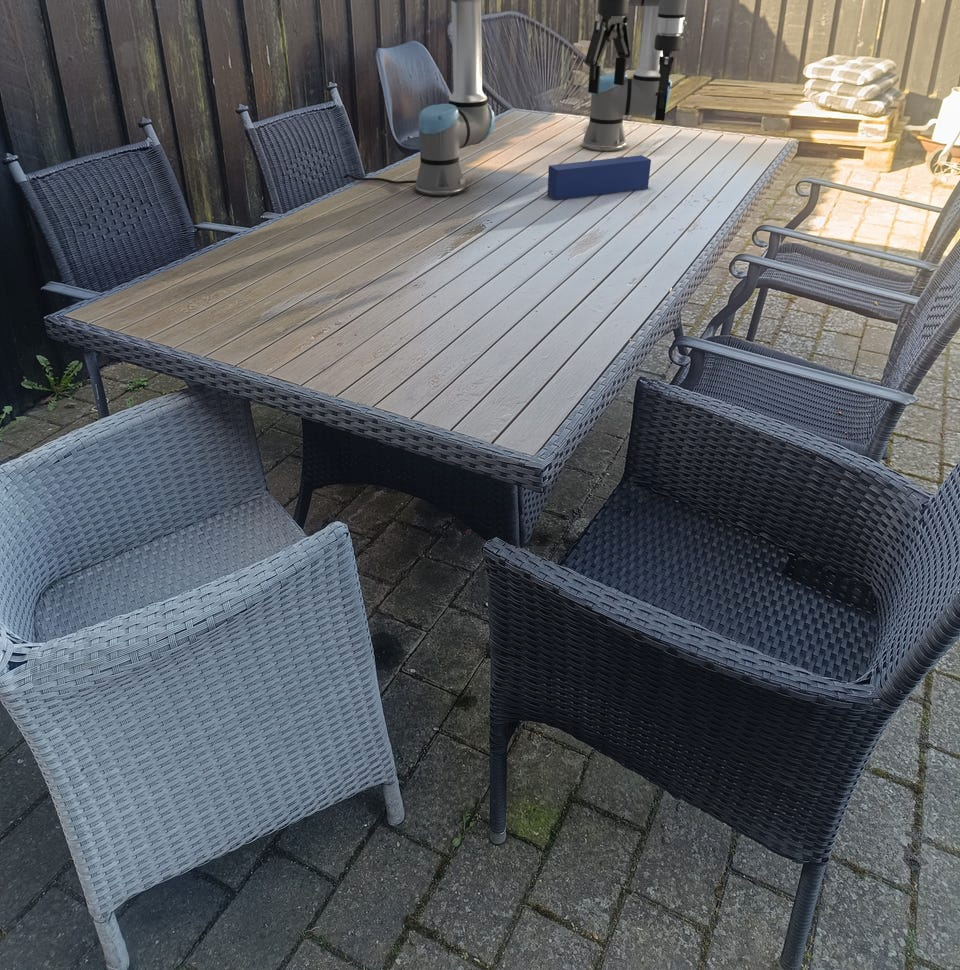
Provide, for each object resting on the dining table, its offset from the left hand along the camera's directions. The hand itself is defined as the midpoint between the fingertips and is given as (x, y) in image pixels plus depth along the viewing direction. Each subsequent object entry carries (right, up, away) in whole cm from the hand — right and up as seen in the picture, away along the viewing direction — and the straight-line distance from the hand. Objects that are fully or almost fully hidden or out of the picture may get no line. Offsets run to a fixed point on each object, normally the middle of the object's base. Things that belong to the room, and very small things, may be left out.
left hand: (606, 88), depth 224 cm
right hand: (+20, +4, +25) cm, 32 cm away
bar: (+3, -16, +33) cm, 37 cm away
